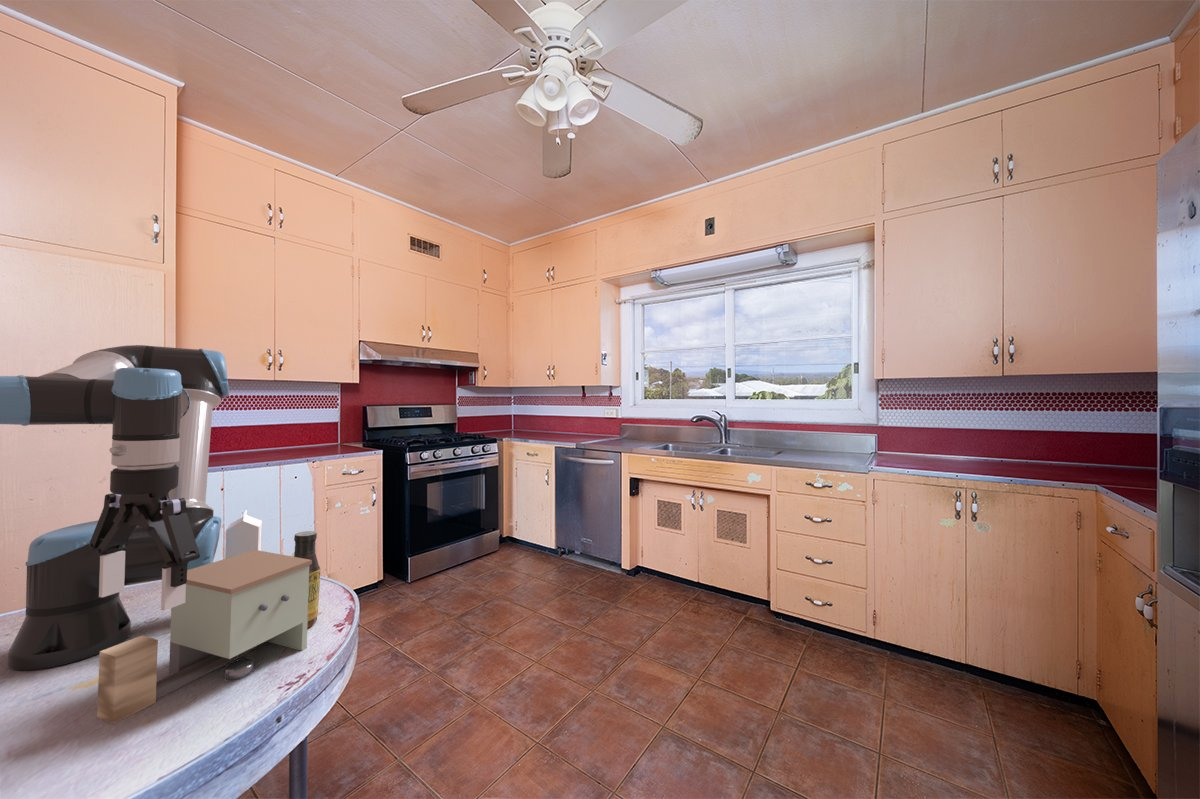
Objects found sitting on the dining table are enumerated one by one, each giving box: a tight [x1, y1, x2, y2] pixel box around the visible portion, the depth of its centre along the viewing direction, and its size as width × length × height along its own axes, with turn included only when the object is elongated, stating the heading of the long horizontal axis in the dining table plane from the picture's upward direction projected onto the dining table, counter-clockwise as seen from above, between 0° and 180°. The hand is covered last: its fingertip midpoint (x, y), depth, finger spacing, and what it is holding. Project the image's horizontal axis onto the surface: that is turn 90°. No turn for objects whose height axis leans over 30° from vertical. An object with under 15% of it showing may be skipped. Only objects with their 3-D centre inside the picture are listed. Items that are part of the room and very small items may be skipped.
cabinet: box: [168, 550, 312, 675], centre depth 83 cm, size 16×15×17 cm
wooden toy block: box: [96, 634, 257, 724], centre depth 77 cm, size 4×21×10 cm, turn 163°
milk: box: [224, 509, 263, 559], centre depth 104 cm, size 6×6×22 cm
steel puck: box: [224, 657, 255, 682], centre depth 78 cm, size 4×4×2 cm
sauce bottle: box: [293, 530, 321, 629], centre depth 95 cm, size 7×6×20 cm
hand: (141, 600), depth 70 cm, fingers open, 13 cm apart
